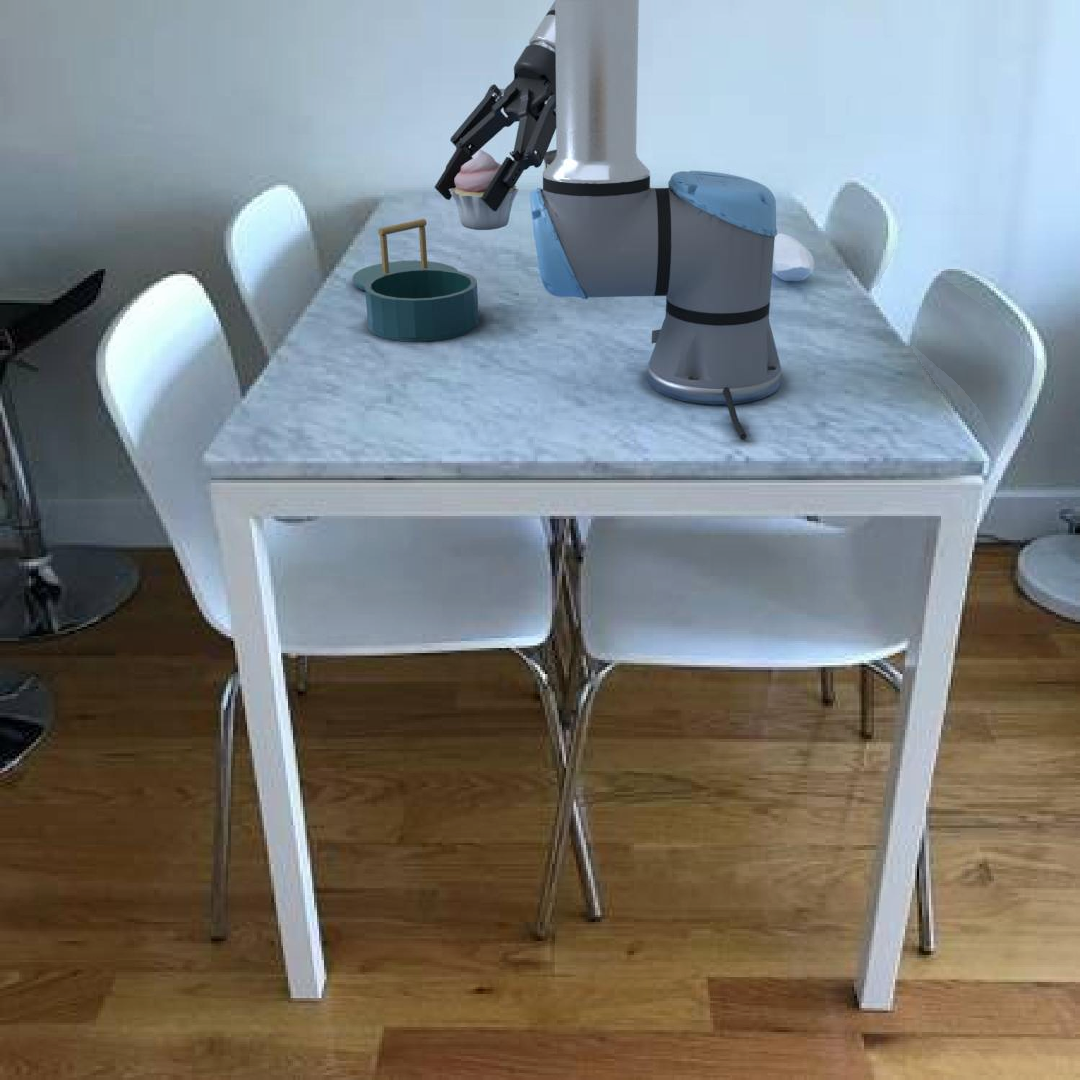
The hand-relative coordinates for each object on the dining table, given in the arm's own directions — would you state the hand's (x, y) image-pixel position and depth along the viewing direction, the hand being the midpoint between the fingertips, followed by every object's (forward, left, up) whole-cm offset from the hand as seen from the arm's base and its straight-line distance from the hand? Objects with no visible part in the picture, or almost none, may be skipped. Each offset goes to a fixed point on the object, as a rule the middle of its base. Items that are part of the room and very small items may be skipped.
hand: (464, 199), depth 164 cm
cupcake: (+1, -3, -4) cm, 5 cm away
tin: (-6, +8, -15) cm, 18 cm away
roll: (-4, -47, -15) cm, 50 cm away
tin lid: (+14, +6, -14) cm, 21 cm away
